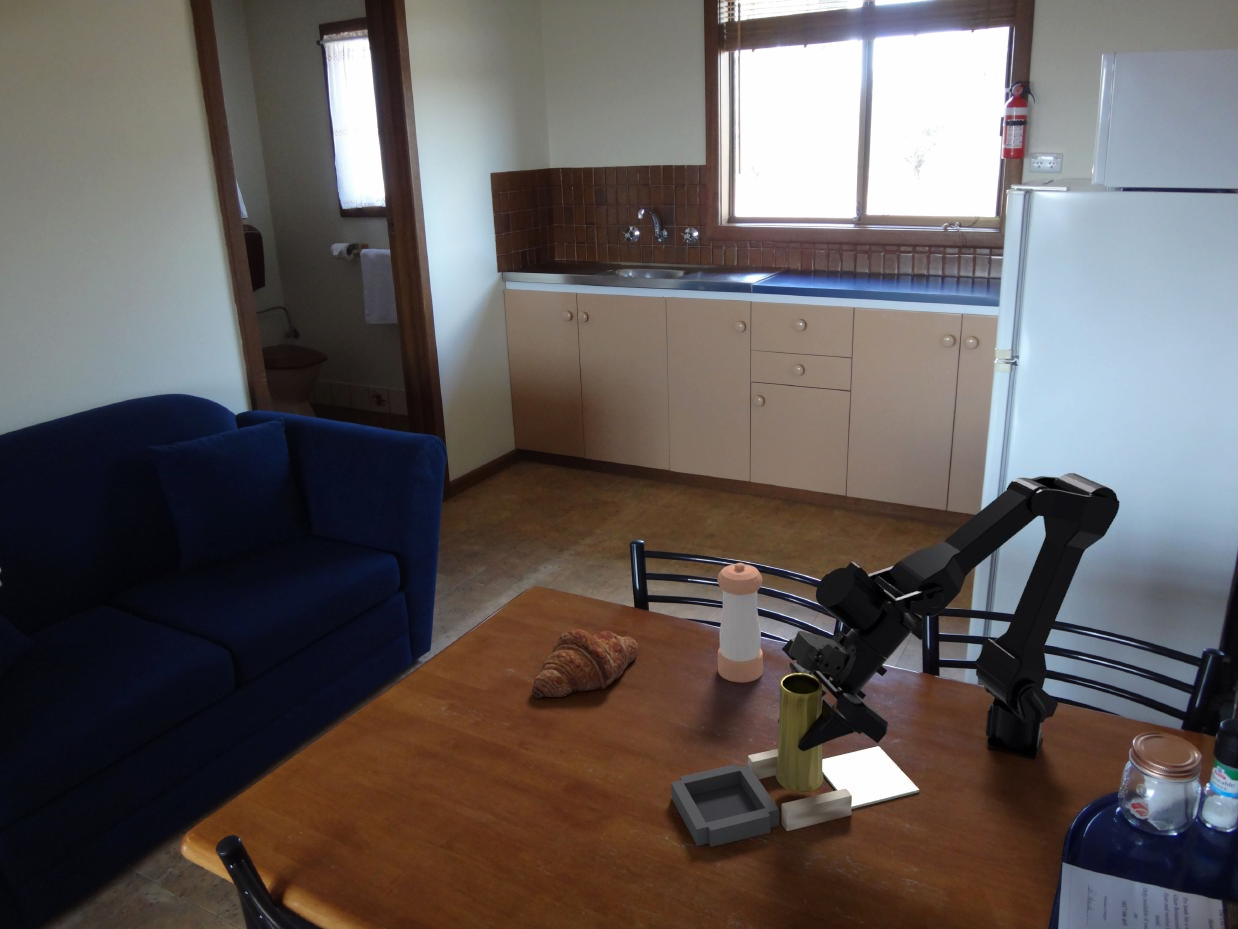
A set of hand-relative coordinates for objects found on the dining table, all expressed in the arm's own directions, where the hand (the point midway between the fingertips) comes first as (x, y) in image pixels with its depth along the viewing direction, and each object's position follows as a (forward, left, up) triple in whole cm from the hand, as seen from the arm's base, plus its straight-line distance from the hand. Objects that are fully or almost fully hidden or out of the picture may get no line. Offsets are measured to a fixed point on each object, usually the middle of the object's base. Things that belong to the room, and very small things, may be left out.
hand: (790, 736), depth 122 cm
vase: (-1, -1, -7) cm, 7 cm away
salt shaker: (+18, -26, -9) cm, 33 cm away
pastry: (+40, -15, -10) cm, 44 cm away
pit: (+6, +7, -9) cm, 13 cm away
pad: (-8, -8, -9) cm, 15 cm away
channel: (-1, -1, -9) cm, 9 cm away
